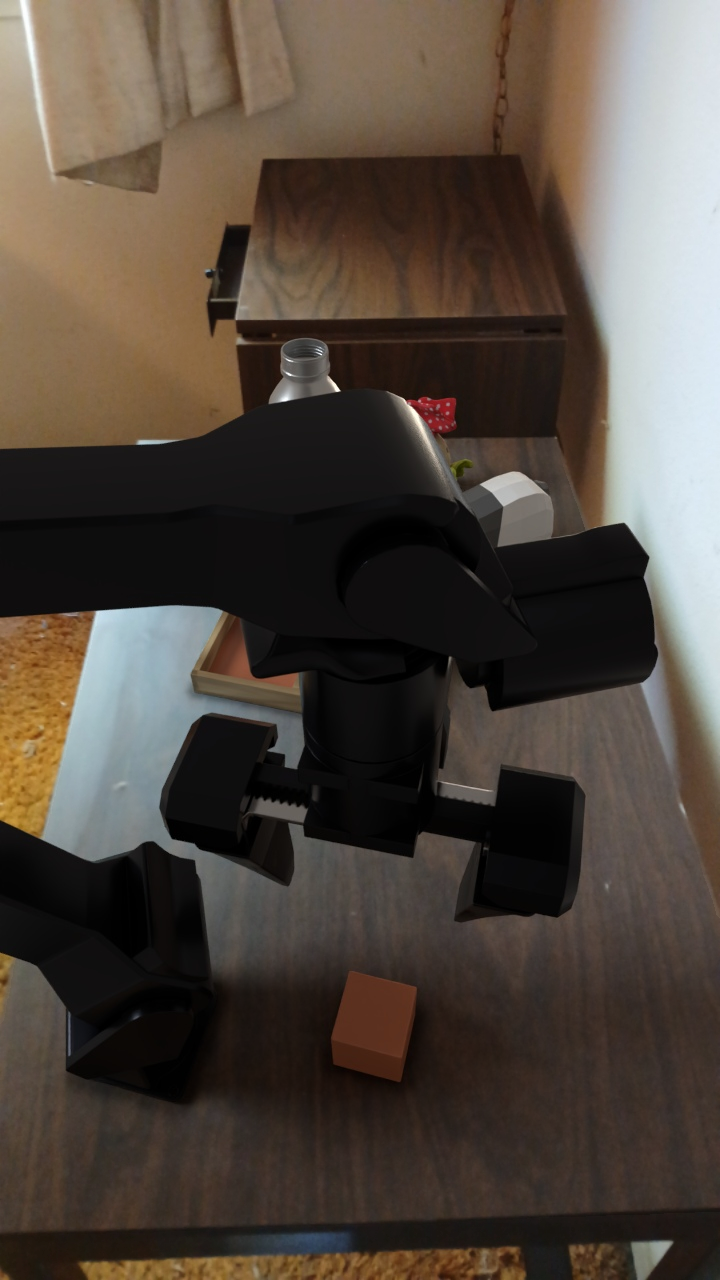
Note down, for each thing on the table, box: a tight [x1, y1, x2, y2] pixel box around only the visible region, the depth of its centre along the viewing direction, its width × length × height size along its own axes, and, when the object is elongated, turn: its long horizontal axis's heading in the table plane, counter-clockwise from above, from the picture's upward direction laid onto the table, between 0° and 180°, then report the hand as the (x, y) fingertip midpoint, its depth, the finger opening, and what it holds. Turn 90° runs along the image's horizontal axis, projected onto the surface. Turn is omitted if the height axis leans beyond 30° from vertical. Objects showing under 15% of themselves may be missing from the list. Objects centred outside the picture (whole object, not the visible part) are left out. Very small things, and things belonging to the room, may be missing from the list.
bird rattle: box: [405, 396, 474, 481], centre depth 85 cm, size 6×11×9 cm
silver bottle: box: [268, 337, 341, 404], centre depth 76 cm, size 6×7×20 cm
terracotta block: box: [330, 970, 418, 1083], centre depth 51 cm, size 4×4×4 cm
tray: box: [189, 611, 302, 714], centre depth 73 cm, size 13×17×2 cm
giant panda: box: [462, 471, 555, 547], centre depth 77 cm, size 15×6×10 cm, turn 119°
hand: (372, 895), depth 47 cm, fingers open, 9 cm apart
